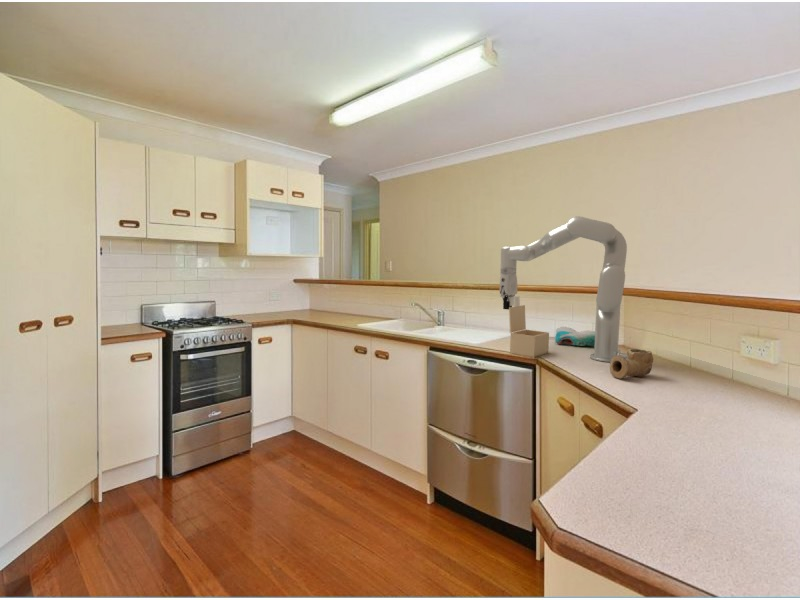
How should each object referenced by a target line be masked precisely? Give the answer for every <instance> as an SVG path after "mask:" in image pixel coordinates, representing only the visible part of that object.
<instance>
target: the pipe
mask: <svg viewBox="0 0 800 600" xmlns="http://www.w3.org/2000/svg"><path fill="white" fill-rule="evenodd" d="M626 354H627V355H628V359H625V358H624V357H622V356H615V357H613V358H612V360H611V362H609V363H610V364H609V372H610V374H611V376H612V377H614V378H615V379H620V380H621V379H623V378H626V377H631V376H634V377H639V378H640V377H641V378H642V377H646V376H647V375H650V373H651V371H652V368H653V363H654V355H653V352H652V351H648V350H645V349H638V348H628V349H627V350H626Z"/></svg>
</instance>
